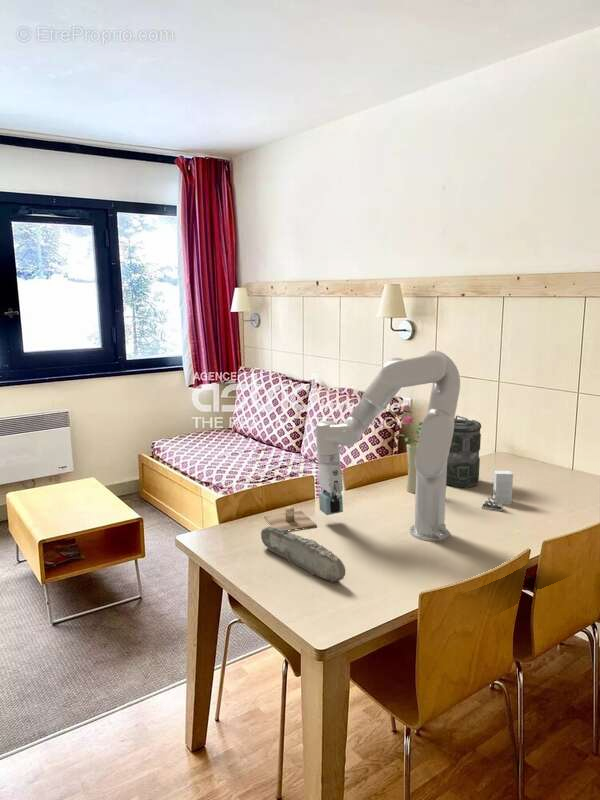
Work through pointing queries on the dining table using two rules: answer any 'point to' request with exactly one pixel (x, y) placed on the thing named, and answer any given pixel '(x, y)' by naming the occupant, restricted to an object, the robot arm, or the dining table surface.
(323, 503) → the dusty teal cube
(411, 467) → the flower vase
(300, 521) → the post block
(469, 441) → the canister
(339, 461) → the robot arm
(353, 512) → the dining table surface
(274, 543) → the elongated rock
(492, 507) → the silver ball pyramid
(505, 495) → the skincare box
